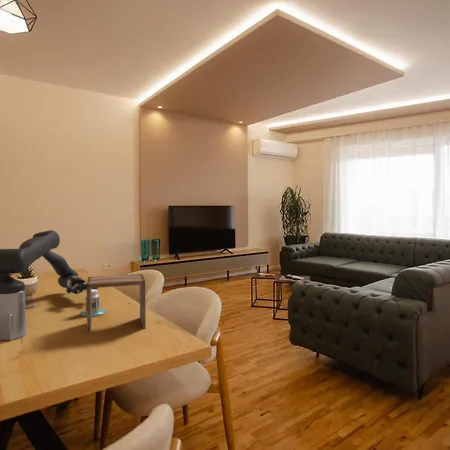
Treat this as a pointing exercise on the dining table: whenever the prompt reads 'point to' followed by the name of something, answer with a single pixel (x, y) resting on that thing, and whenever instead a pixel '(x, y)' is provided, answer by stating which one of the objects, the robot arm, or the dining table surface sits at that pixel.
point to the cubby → (112, 282)
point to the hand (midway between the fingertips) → (86, 290)
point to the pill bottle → (94, 301)
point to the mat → (100, 312)
